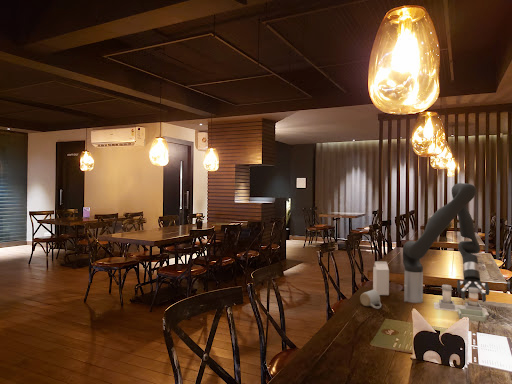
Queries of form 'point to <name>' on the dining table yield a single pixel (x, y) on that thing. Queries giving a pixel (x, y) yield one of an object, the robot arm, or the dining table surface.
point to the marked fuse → (473, 296)
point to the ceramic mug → (370, 299)
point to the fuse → (447, 293)
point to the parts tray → (473, 312)
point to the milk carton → (381, 278)
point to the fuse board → (457, 306)
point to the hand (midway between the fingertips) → (473, 300)
